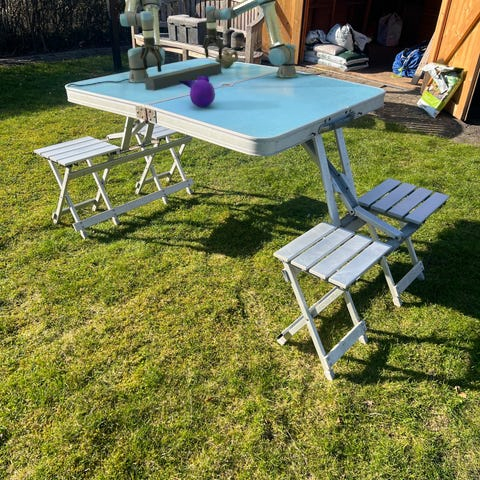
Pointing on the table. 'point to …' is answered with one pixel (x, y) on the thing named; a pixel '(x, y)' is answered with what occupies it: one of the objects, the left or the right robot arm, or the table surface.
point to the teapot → (227, 59)
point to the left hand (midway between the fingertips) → (152, 70)
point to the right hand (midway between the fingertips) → (213, 58)
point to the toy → (201, 91)
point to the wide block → (182, 76)
